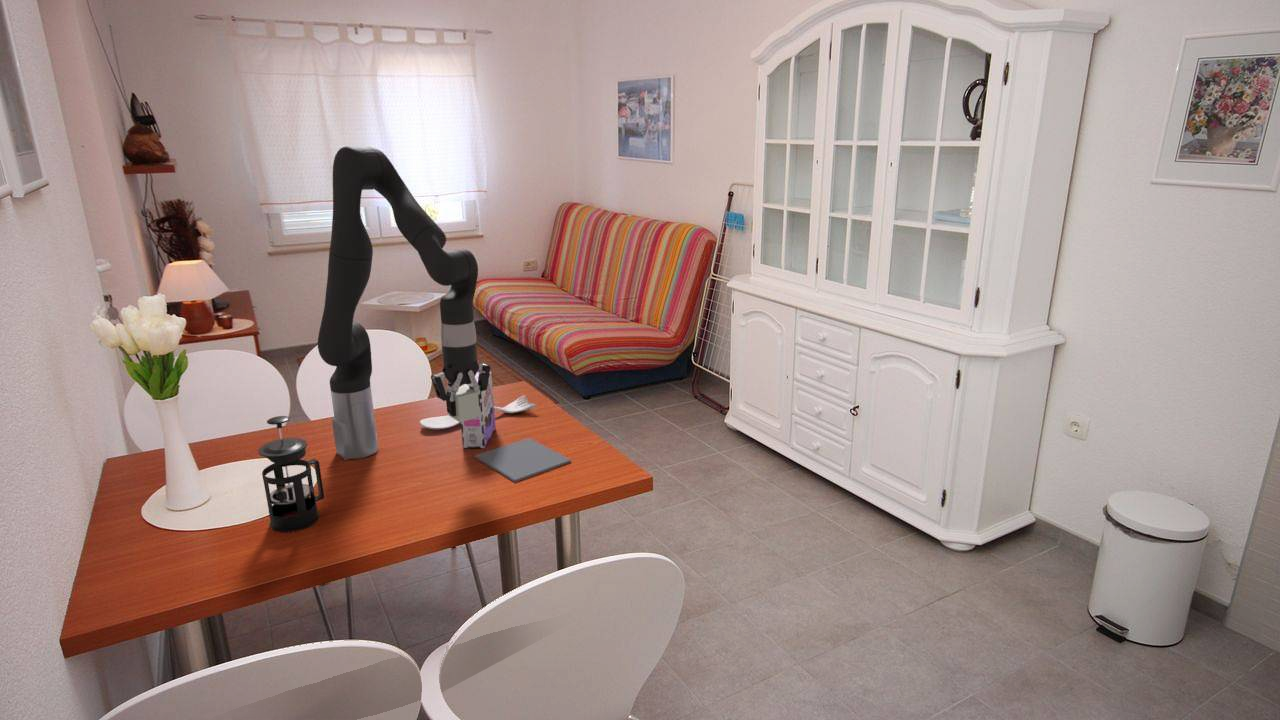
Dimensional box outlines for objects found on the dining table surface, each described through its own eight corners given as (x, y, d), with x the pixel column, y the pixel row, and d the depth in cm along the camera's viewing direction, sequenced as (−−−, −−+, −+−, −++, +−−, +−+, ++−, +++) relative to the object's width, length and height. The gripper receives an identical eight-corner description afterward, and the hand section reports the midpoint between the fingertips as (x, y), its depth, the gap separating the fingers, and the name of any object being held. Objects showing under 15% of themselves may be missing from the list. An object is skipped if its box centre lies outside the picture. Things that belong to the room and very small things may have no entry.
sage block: (459, 422, 165) (458, 397, 163) (449, 415, 169) (447, 391, 167) (479, 416, 168) (478, 392, 167) (468, 410, 172) (467, 386, 170)
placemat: (514, 482, 170) (514, 479, 170) (475, 457, 183) (475, 455, 183) (570, 462, 180) (570, 459, 180) (529, 440, 193) (529, 437, 193)
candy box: (485, 449, 188) (480, 388, 183) (462, 449, 188) (456, 388, 183) (496, 428, 201) (492, 370, 196) (474, 427, 201) (470, 370, 196)
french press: (279, 539, 147) (260, 432, 140) (258, 523, 153) (240, 420, 146) (335, 516, 155) (320, 414, 148) (314, 502, 161) (298, 404, 154)
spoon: (537, 414, 211) (537, 403, 210) (425, 437, 196) (424, 425, 195) (526, 404, 218) (525, 393, 217) (416, 426, 203) (415, 414, 202)
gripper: (479, 331, 170) (483, 400, 176) (420, 343, 161) (427, 415, 166) (496, 338, 165) (500, 409, 170) (436, 350, 156) (442, 425, 161)
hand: (464, 412), depth 168 cm, fingers closed on sage block, 5 cm apart
